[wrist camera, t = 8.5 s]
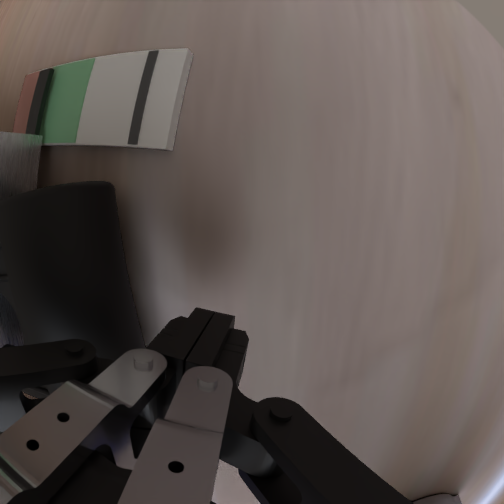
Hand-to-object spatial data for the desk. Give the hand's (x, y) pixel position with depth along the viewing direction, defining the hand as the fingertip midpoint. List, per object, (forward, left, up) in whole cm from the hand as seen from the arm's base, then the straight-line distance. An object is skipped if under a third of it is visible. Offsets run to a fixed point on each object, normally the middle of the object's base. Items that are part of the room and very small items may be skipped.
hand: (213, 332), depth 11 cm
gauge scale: (+10, -9, -3) cm, 14 cm away
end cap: (+7, +1, -3) cm, 8 cm away
